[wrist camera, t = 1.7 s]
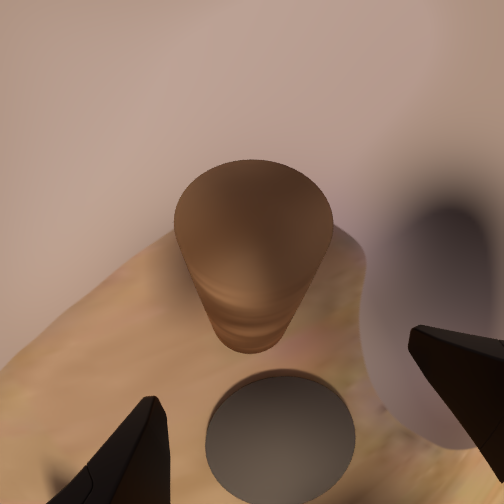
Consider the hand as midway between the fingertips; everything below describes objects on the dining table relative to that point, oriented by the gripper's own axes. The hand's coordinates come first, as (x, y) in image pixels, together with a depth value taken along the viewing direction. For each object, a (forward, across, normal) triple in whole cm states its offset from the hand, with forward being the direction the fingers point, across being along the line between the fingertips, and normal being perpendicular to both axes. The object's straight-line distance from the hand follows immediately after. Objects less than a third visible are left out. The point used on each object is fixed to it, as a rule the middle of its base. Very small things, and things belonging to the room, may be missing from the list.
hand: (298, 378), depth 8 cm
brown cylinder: (+13, 0, +4) cm, 14 cm away
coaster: (+5, 0, +12) cm, 13 cm away
